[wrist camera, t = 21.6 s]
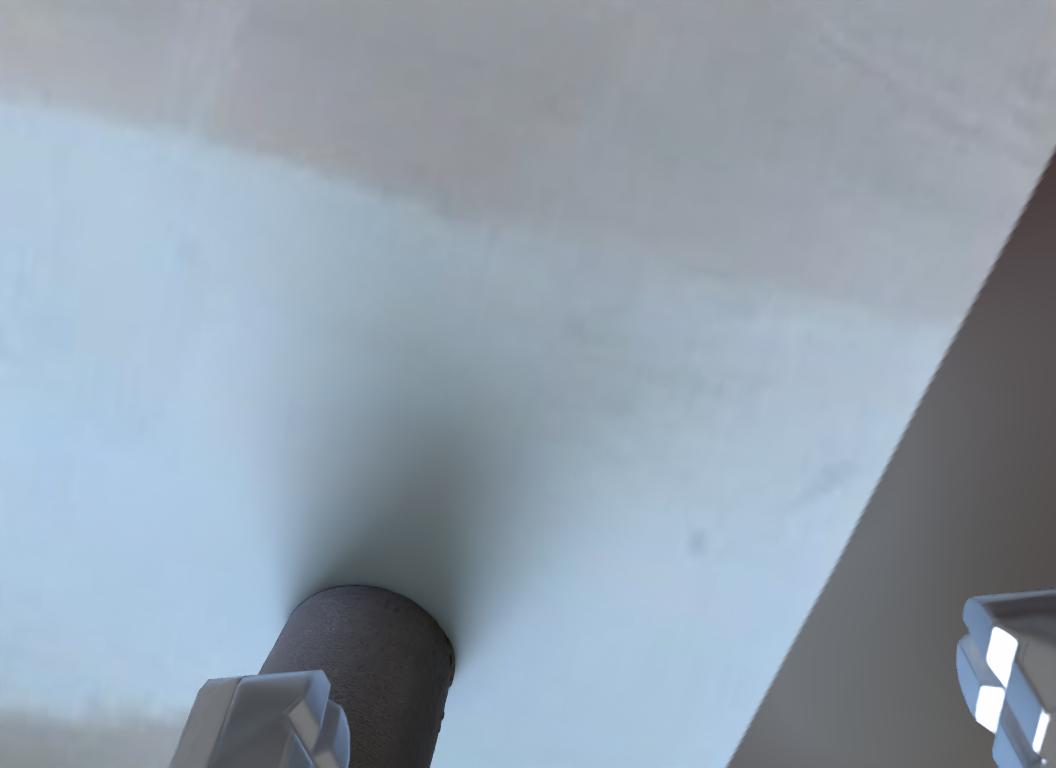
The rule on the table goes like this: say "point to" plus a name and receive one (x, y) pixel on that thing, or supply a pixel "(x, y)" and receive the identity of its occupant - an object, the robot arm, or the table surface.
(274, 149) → the table surface
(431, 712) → the pillar candle
